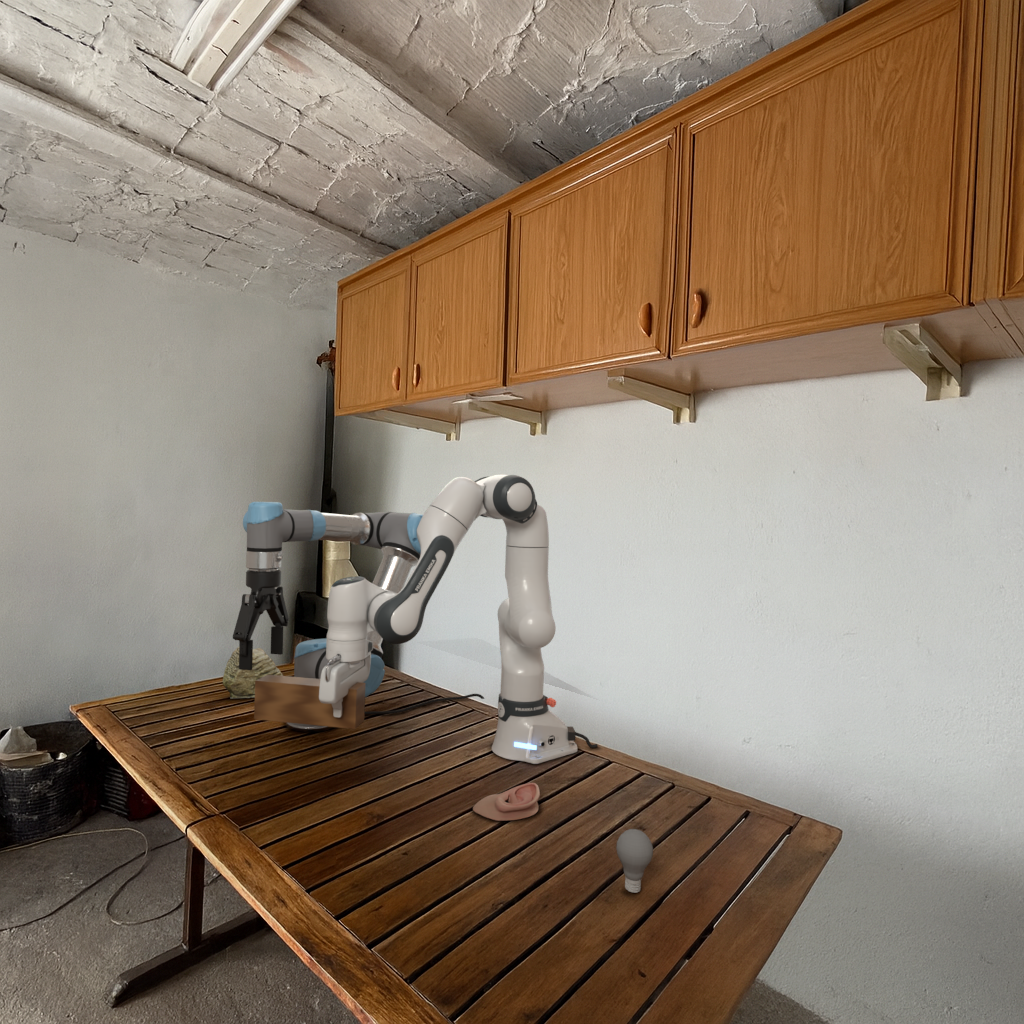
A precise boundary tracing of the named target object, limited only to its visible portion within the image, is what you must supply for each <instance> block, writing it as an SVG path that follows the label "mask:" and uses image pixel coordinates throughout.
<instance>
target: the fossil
mask: <svg viewBox="0 0 1024 1024" xmlns="http://www.w3.org/2000/svg"><path fill="white" fill-rule="evenodd" d="M266 675H279V676H284V674H283V673H282V672H281V669H279V668H278V667H277V665H276V663H275V662H274V660H273V659H272V658H271V657H270V656H269V655H268V654H267V653H266V652H265V650H264V649H263V648H260V647H258V648H253V660H252V670H240V669H239V646H238V647H237V648H236V649H235V650H233V651H232V653H231V656H230V657H229V659H228V660H227V663H226V666H225V668H224V671H223V675H222V676H223V677H222V685H223V687H224V688H225V690H226V691H228V693H229V698H230V699H250V698H255V681H256V680H258V679H260V678H262V677H264V676H266Z"/></svg>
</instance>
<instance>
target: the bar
mask: <svg viewBox="0 0 1024 1024" xmlns="http://www.w3.org/2000/svg"><path fill="white" fill-rule="evenodd" d="M365 684H366V683H361V682H357V683H356V684H354V685H353V686H352V687H350V688H349V690H348V694H347V695H346V696H345V697H343V701H342V707H343V708H344V714H343V715H342V716H341V717H334V716H333V707H332V704H325V703H321V702H320V700H319V687H320V679H314V678H302V677H294V676H290V675H283V676H279V675H266V676H264V677H262V678H260V679H258V680H256V681H255V697H254V705H253V706H254V707H253V710H254V711H253V720H257V721H266V722H267V721H268V722H277V723H286V722H287V723H298V724H308V725H318V726H329V727H335V728H339V729H350V730H356V729H357V728H358V727H359V726H361V724H363V723H364V722H365V714H364V712H366V711H365V710H366V709H365V708H366V697H365Z"/></svg>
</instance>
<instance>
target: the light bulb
mask: <svg viewBox="0 0 1024 1024" xmlns="http://www.w3.org/2000/svg"><path fill="white" fill-rule="evenodd" d="M615 849H616V854H617V857H618V859H619V861H620V863H621V865H622V867H623V873H624V874H623V875H624V876H625V878H624V888H625V890H627V891H628V892H630V893H634V894H635V893H639V892H640V891H641V889H642V887H641V886H642V879H643V877H644V875H645V871H646V868H647V867H648V866H649V864H650V863H651V861H652V859H653V855H654V847H653V843H652V841H651V838H649V836H648V835H647V834H646V833H645V832H643V831H642V830H641V829H636V828H629V829H627V830H625V831H623V832H622V833H621V834H620V835H619V837H618V839H617V841H616V847H615Z"/></svg>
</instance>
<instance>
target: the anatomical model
mask: <svg viewBox="0 0 1024 1024" xmlns="http://www.w3.org/2000/svg"><path fill="white" fill-rule="evenodd" d="M540 791H541V790H540V787H539V785H538V784H537V783H535V782H527V783H523V784H520V785H517V786H515V787H512V788H510V789H508V790H506V791H503V792H499V793H496V794H490V795H486V796H485V797H483V798H481V799H480V800H478V801H477V802H476V803H475V804H474V805H473V807H472V811H473V812H474V813H475V814H478V815H480V816H482V817H484V818H487V819H490V820H493V821H499V822H504V821H505V822H507V821H516V820H521V819H526V818H529V817H532V816H534V815H536V814H537V813H538V811H539V803H538V801H539V799H540V796H541V792H540Z"/></svg>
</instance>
